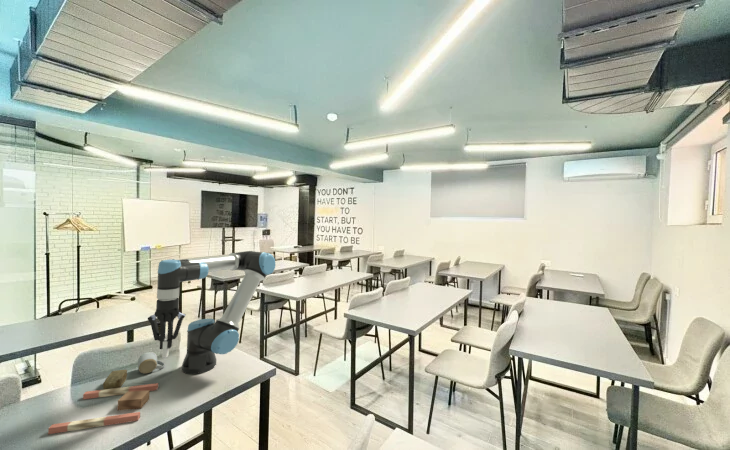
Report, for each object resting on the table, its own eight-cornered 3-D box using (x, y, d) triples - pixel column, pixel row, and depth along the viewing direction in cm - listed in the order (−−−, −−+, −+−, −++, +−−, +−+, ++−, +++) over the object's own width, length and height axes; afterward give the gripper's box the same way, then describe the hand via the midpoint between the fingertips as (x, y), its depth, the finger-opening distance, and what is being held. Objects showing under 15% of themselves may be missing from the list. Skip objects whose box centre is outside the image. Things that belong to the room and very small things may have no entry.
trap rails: (158, 387, 126) (158, 383, 126) (137, 420, 106) (138, 415, 106) (85, 396, 118) (86, 391, 118) (48, 434, 97) (48, 428, 97)
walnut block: (149, 400, 118) (149, 390, 118) (141, 409, 112) (141, 399, 112) (126, 401, 116) (127, 391, 116) (117, 411, 111) (117, 400, 111)
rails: (130, 391, 123) (130, 386, 123) (103, 425, 102) (103, 420, 102) (101, 394, 120) (101, 389, 120) (67, 431, 99) (67, 425, 99)
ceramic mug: (137, 376, 134) (138, 360, 134) (137, 369, 140) (138, 353, 140) (165, 370, 141) (166, 354, 141) (163, 363, 147) (164, 348, 147)
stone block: (101, 395, 120) (102, 382, 120) (111, 381, 130) (111, 370, 130) (119, 391, 122) (120, 380, 122) (127, 378, 133) (127, 367, 133)
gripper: (188, 295, 123) (186, 350, 123) (152, 296, 119) (149, 354, 119) (184, 300, 116) (181, 358, 116) (145, 301, 112) (142, 362, 112)
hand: (165, 356), depth 118 cm, fingers closed
